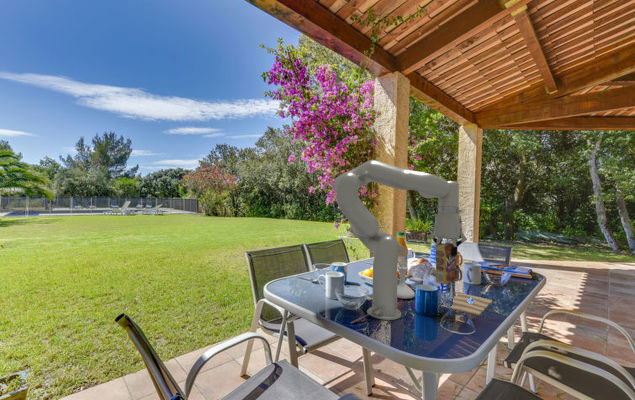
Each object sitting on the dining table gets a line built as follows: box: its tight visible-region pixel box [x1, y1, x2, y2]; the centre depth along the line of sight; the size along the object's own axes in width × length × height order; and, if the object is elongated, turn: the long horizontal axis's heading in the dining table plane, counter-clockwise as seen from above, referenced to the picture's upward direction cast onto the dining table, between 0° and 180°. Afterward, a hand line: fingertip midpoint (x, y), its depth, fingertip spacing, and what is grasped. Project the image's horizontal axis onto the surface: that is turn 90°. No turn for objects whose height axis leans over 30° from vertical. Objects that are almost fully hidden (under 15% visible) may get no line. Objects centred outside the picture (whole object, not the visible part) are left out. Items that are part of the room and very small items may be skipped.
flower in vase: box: [397, 243, 416, 300], centre depth 132 cm, size 13×11×25 cm
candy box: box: [435, 242, 457, 285], centre depth 112 cm, size 9×4×15 cm, turn 126°
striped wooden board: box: [440, 292, 494, 317], centre depth 122 cm, size 26×14×1 cm, turn 137°
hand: (446, 255), depth 113 cm, fingers closed on candy box, 4 cm apart
